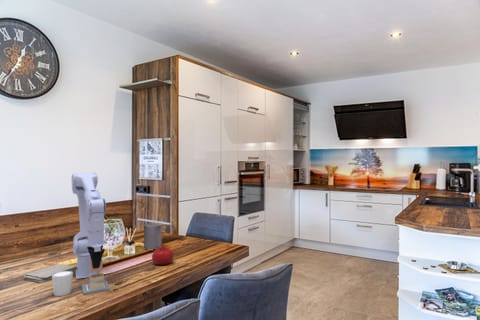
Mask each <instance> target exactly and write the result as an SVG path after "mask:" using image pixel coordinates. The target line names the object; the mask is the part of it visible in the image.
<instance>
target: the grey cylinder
mask: <svg viewBox="0 0 480 320" xmlns="http://www.w3.org/2000/svg"><path fill="white" fill-rule="evenodd" d="M73 275H74V272H72V271H62V272H58V273H55V274H53V275H52V280H51V282H52V290H53V296H56V297H61V296H66V295H69V294H71V293H72V288H73V287H72V286H73V277H74V276H73Z"/></svg>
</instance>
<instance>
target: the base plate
mask: <svg viewBox="0 0 480 320" xmlns="http://www.w3.org/2000/svg"><path fill="white" fill-rule="evenodd" d="M81 289H82V295H83V296H86V295H90V294H96V293H101V292H107V291H111V287H110V284H109V282H108V280H104V287H102V288H97V289H91V290H90V288H89V282H88V283H81Z"/></svg>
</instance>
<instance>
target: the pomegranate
mask: <svg viewBox="0 0 480 320" xmlns="http://www.w3.org/2000/svg"><path fill="white" fill-rule="evenodd" d="M156 248H159V249H157V250H153V253H152V255H151V259H152V263H153V265H157V266H165V265H169V264H171V262H173V259H174V251H173V250H172V249H171V248H170V247H169V246H168V245H167V246H165V247H164V244H163V243H162V244H161V248H160V247H156Z"/></svg>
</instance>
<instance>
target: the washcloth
mask: <svg viewBox="0 0 480 320" xmlns="http://www.w3.org/2000/svg"><path fill="white" fill-rule="evenodd" d="M76 270H77V265H68V264H62V263H58V264H55V265H52V266H48V267H44V268H40V269H38V270H35V271H34V270H33V271H31V272H27V273H25V274H24V275H23V280H25V281H26V282H27V281H28V282H32V283H36V284H42V283H46V282H50V281H52V275H53V274H55V273H58V272H62V271H72V272H73V273H76V272H75V271H76Z"/></svg>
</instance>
